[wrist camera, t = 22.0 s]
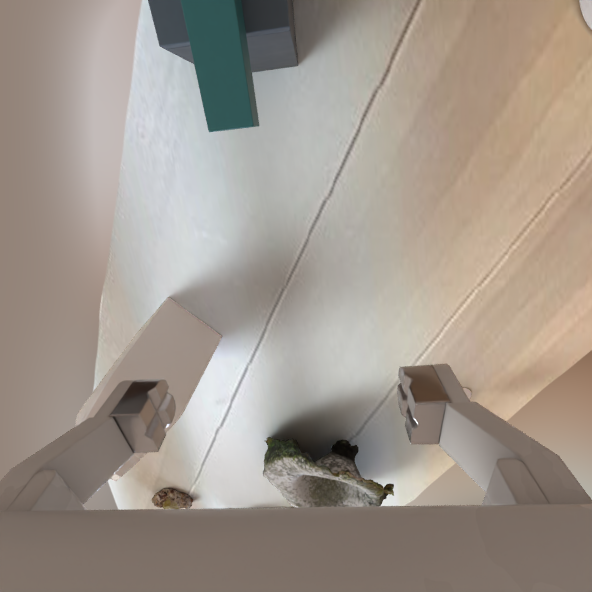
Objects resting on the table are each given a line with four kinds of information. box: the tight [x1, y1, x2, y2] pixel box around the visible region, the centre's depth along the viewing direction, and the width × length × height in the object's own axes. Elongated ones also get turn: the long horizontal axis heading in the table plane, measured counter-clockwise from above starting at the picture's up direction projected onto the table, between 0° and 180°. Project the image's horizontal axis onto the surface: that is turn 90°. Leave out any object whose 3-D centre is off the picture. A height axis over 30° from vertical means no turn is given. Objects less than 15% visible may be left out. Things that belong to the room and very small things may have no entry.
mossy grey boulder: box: [263, 437, 394, 507], centre depth 68 cm, size 29×30×15 cm
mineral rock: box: [152, 488, 193, 509], centre depth 85 cm, size 11×4×8 cm
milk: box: [76, 297, 222, 481], centre depth 47 cm, size 12×12×26 cm
